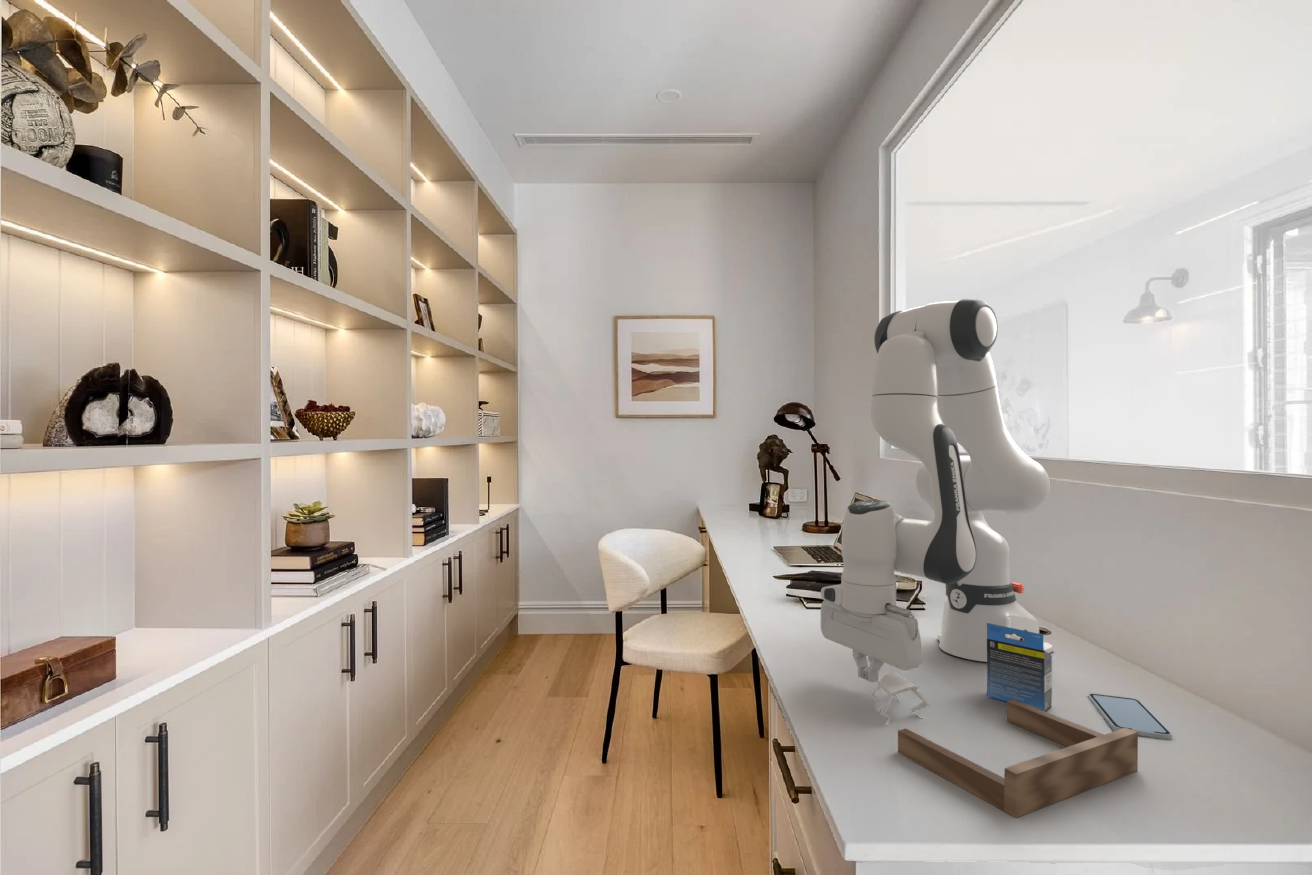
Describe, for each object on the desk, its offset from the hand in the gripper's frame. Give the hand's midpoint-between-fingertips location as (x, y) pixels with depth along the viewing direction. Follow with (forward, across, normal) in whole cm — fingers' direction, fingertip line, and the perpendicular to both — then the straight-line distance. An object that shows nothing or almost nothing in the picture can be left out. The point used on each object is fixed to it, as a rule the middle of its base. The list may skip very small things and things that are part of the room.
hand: (868, 679), depth 114 cm
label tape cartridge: (+2, -14, -19) cm, 24 cm away
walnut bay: (+2, -26, 0) cm, 26 cm away
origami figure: (+2, -8, +1) cm, 8 cm away
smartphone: (+3, -25, -29) cm, 38 cm away
